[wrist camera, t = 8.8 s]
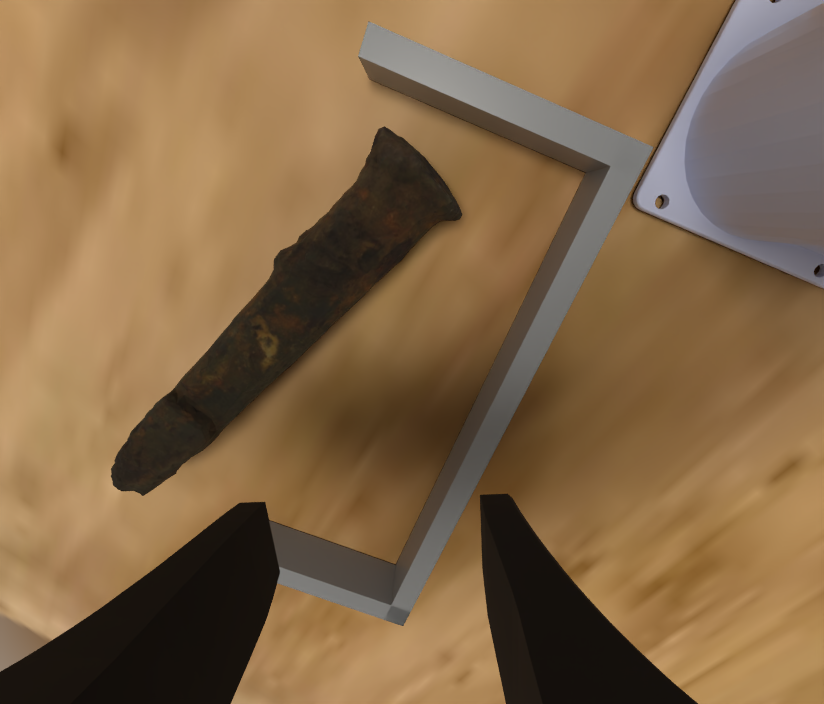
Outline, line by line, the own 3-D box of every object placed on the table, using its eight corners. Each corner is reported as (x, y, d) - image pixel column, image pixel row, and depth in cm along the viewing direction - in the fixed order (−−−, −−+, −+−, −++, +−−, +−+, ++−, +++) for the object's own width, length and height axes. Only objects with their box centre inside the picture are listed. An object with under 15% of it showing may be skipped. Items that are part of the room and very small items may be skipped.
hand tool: (399, 131, 17) (385, 102, 13) (464, 210, 18) (473, 210, 13) (122, 413, 22) (41, 464, 17) (183, 466, 22) (120, 528, 18)
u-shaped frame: (622, 156, 17) (653, 146, 14) (406, 584, 24) (403, 626, 21) (378, 49, 16) (368, 21, 13) (231, 523, 23) (207, 559, 21)
